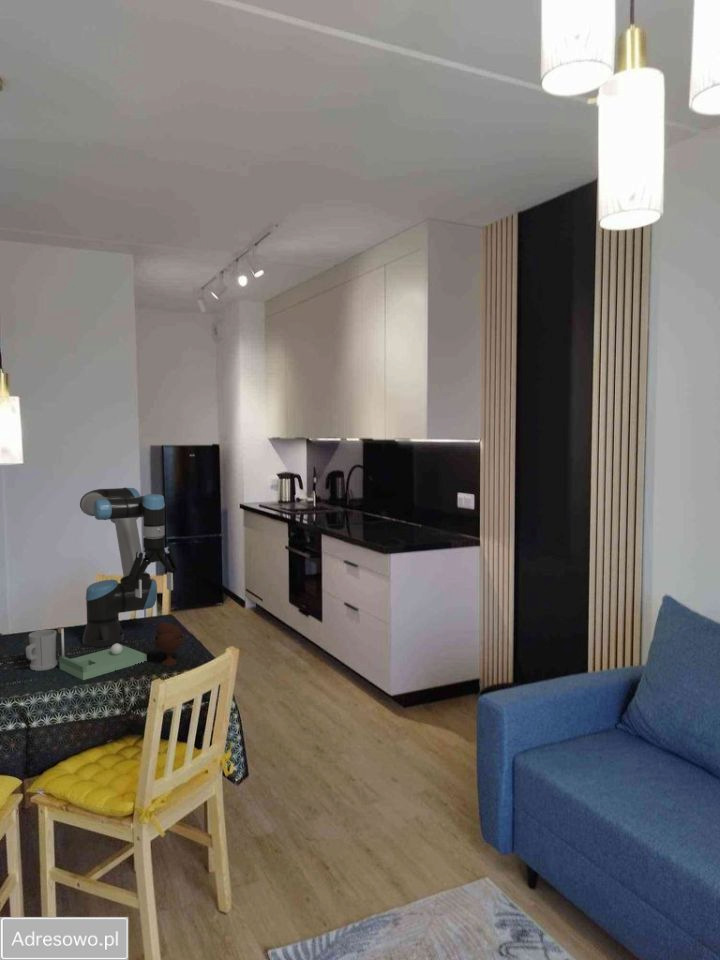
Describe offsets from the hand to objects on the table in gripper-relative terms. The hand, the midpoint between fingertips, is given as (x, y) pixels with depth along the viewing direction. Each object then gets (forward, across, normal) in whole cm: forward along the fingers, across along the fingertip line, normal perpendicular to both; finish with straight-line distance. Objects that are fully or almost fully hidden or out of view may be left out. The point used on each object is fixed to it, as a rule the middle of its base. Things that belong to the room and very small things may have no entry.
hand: (154, 593), depth 249 cm
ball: (+18, -14, +3) cm, 23 cm away
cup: (+23, -34, +18) cm, 44 cm away
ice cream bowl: (+22, -4, -14) cm, 26 cm away
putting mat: (+23, -19, +3) cm, 30 cm away
